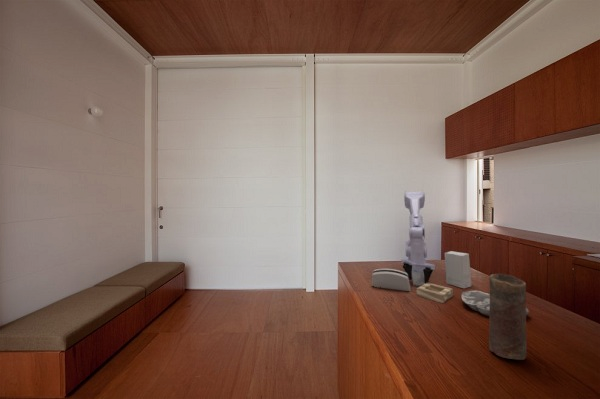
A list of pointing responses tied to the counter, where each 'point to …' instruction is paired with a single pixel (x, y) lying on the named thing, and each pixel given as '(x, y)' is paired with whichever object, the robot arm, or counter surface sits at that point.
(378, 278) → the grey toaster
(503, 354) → the brown tall cylinder
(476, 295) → the brain slice
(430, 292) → the well block
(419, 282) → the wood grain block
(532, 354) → the counter surface
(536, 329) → the counter surface
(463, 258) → the skincare box
